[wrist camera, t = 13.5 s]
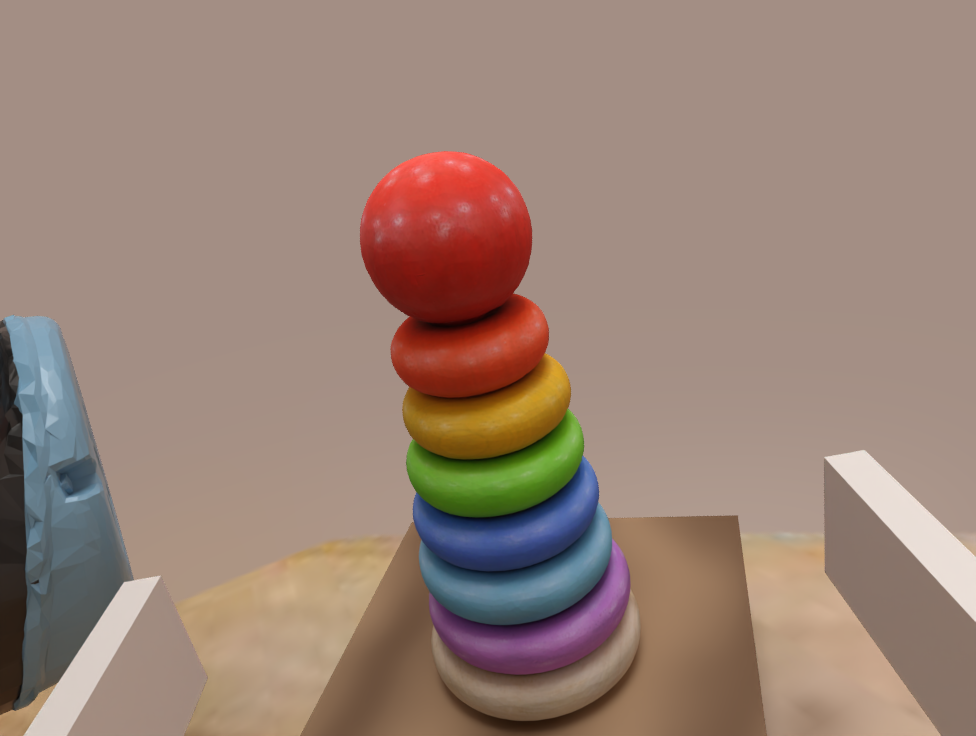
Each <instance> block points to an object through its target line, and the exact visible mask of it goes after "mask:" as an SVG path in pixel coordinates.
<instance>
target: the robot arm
mask: <svg viewBox="0 0 976 736" xmlns="http://www.w3.org/2000/svg"><path fill="white" fill-rule="evenodd" d="M824 498H825V499H824V511H825V514H824V517H825V573H826V574H827V576H828V577H829V579H830V580H831V581H832V583H833V584H834V586H835V587H836V588H837V590H838V591H839V593H840V594H841V595H842V597H843V598H844V600H845V601H846V602H847V604H848V605H849V607H850V608H851V609H852V611H853V612H854V614H855V615H856V616H857V618H858V619H859V621H860V622H861V624H862V625H863V626H864V628H865V629H866V631H867V632H868V633H869V635H870V636H871V638H872V639H873V640H874V642H875V643H876V645H877V646H878V647H879V649H880V650H881V652H882V653H883V654H884V656H885V657H886V659H887V660H888V661H889V663H890V664H891V666H892V667H893V668H894V670H895V671H896V673H897V674H898V675H899V677H900V678H901V680H902V681H903V682H904V684H905V685H906V687H907V688H908V689H909V691H910V692H911V694H912V695H913V696H914V698H915V699H916V701H917V702H918V703H919V705H920V706H921V708H922V709H923V710H924V712H925V713H926V715H927V716H928V717H929V719H930V720H931V722H932V723H933V724H934V726H935V727H936V729H937V730H938V731H939V733H940V734H941V736H976V557H975V556H974V555H973V554H972V553H971V552H970V551H969V550H968V549H967V548H966V547H965V546H964V545H963V544H962V543H961V542H960V541H959V540H958V539H957V538H955V537H954V536H953V535H952V534H951V533H950V532H949V531H948V530H947V529H946V528H945V527H944V526H943V525H942V524H941V523H940V522H939V521H938V520H937V519H936V518H935V517H934V516H933V515H932V514H930V513H929V512H928V511H927V510H926V509H925V508H924V507H923V506H922V505H921V504H920V503H919V502H918V501H917V500H916V499H915V498H914V497H913V496H912V495H911V494H910V493H908V491H907V490H905V489H904V488H903V487H902V486H901V485H900V484H899V483H898V482H897V481H896V480H895V479H894V478H893V477H892V476H891V475H890V474H889V473H888V472H886V470H885V469H884V468H883V467H882V466H880V465H879V464H878V463H877V462H876V461H875V460H874V459H873V458H872V457H871V456H870V455H869V454H868V453H867V452H866V451H864V450H862V451H857V452H851V453H845V454H840V455H834V456H829V457H824ZM207 679H208V677H207V675H206V673H205V671H204V669H203V666H202V664H201V662H200V660H199V658H198V655H197V653H196V651H195V649H194V647H193V644H192V642H191V640H190V638H189V636H188V633H187V631H186V629H185V627H184V625H183V623H182V620H181V618H180V616H179V614H178V612H177V609H176V607H175V605H174V603H173V601H172V599H171V596H170V594H169V592H168V590H167V587H166V585H165V583H164V581H163V579H162V577H161V576H156V577H150V578H144V579H139V580H134V579H133V575H132V572H131V567H130V563H129V560H128V556H127V552H126V548H125V545H124V541H123V538H122V534H121V530H120V526H119V523H118V519H117V516H116V512H115V508H114V505H113V501H112V498H111V494H110V491H109V487H108V484H107V480H106V477H105V473H104V470H103V466H102V463H101V459H100V455H99V452H98V449H97V446H96V442H95V439H94V435H93V432H92V429H91V425H90V422H89V418H88V415H87V411H86V408H85V404H84V401H83V397H82V394H81V391H80V387H79V384H78V381H77V377H76V374H75V371H74V368H73V364H72V361H71V358H70V354H69V352H68V349H67V346H66V343H65V341H64V339H63V335H62V332H61V328H60V327H59V325H58V324H57V323H56V322H55V321H54V320H52V319H50V318H48V317H41V316H33V317H25V318H23V317H21V316H14V315H12V316H9V317H6V318H4V320H2V321H0V715H1V714H3V713H6V712H8V711H10V710H14V711H16V710H19V709H21V708H24V707H26V706H28V705H29V704H31V703H32V702H33V701H34V700H35V698H36V697H37V695H38V694H39V693H40V692H42V691H43V690H45V689H47V688H49V687H51V686H53V685H55V684H57V683H58V684H57V685H56V687H55V688H54V690H53V691H52V693H51V695H50V696H49V698H48V699H47V701H46V702H45V704H44V705H43V707H42V708H41V710H40V711H39V713H38V714H37V716H36V717H35V719H34V721H33V722H32V724H31V725H30V727H29V728H28V730H27V731H26V733H25V734H24V736H184V734H185V732H186V729H187V727H188V725H189V722H190V720H191V717H192V715H193V712H194V710H195V708H196V705H197V703H198V700H199V698H200V696H201V693H202V691H203V688H204V686H205V684H206V681H207Z"/></svg>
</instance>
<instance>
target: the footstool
mask: <svg viewBox="0 0 976 736" xmlns="http://www.w3.org/2000/svg"><path fill="white" fill-rule="evenodd" d="M608 520H609V523H610V527H611V531H612V539H613V540H614V541H615V542H616V543H617V545H618V546H619V547H620V549H621V550H622V552H623V554H624V556H625V559H626V561H627V564H628V568H629V572H630V584H631V585H630V589H631V590H632V592H633V594H634V597H635V599H636V601H637V605H638V608H639V614H640V624H641V629H640V639H639V645H638V649H637V651H636V654H635V657H634V659H633V661H632V663H631V665H630V667H629V668H628V670H627V671H626V673H625V674H624V675H623V677H622V678H621V679H620V680H619V681H618V682H617V683H616V684H615V685H614V686H613V687H612V688H611V689H610V690H609V691H608V692H606V693H605V694H604V695H602V696H601V697H599V698H598V699H597V700H595V701H593V702H592V703H590V704H588V705H586V706H585V707H583V708H581V709H578V710H576V711H574V712H571V713H568V714H565V715H562V716H558V717H555V718H550V719H544V720H537V721H515V720H508V719H502V718H497V717H493V716H490V715H487V714H484V713H482V712H480V711H477V710H475V709H474V708H472V707H470V706H469V705H467V704H465V703H464V702H462V701H461V700H460V699H459V698H458V697H456V696H455V694H454V693H453V692H452V691H451V690H450V689H449V688H448V687H447V686H446V684H445V683H444V681H443V680H442V678H441V676H440V674H439V672H438V670H437V668H436V665H435V662H434V659H433V653H432V642H431V639H432V630H433V622H432V619H431V615H430V609H429V590H428V588H427V586H426V585H425V582H424V580H423V577H422V574H421V570H420V565H419V548H420V543H421V538H420V536H419V534H418V532H417V530H416V527H415V523H414V522H412V523H411V525H410V527H409V529H408V531H407V533H406V535H405V537H404V538H403V540H402V542H401V544H400V546H399V548H398V550H397V552H396V554H395V556H394V558H393V559H392V561H391V563H390V565H389V567H388V569H387V571H386V573H385V575H384V577H383V579H382V580H381V582H380V584H379V586H378V588H377V590H376V592H375V594H374V596H373V598H372V600H371V602H370V603H369V605H368V607H367V609H366V611H365V613H364V615H363V617H362V619H361V621H360V623H359V624H358V626H357V628H356V630H355V632H354V634H353V636H352V638H351V640H350V642H349V644H348V645H347V647H346V649H345V651H344V653H343V655H342V657H341V659H340V661H339V663H338V665H337V666H336V668H335V670H334V672H333V674H332V676H331V678H330V680H329V682H328V684H327V686H326V688H325V689H324V691H323V693H322V695H321V697H320V699H319V701H318V703H317V705H316V707H315V709H314V710H313V712H312V714H311V716H310V718H309V720H308V722H307V724H306V726H305V728H304V730H303V731H302V733H301V735H300V736H767V734H766V726H765V719H764V711H763V704H762V696H761V689H760V681H759V674H758V666H757V658H756V651H755V643H754V636H753V628H752V621H751V613H750V606H749V598H748V590H747V583H746V575H745V568H744V560H743V553H742V545H741V538H740V530H739V523H738V516H696V517H695V516H692V517H644V518H608Z"/></svg>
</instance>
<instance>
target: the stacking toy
mask: <svg viewBox="0 0 976 736" xmlns="http://www.w3.org/2000/svg"><path fill="white" fill-rule="evenodd" d="M360 245H361V253H362V257H363V260H364V263H365V267H366V269H367V271H368V273H369V275H370V277H371V279H372V281H373V283H374V284H375V286H376V288H377V289H378V290H379V292H380V293H381V294H382V295H383V296H384V297H385V298H386V299H387V301H388V302H389V303H390V304H392V305H393V306H394V307H395V308H397V309H398V310H400V311H401V312H403V313H404V314H406V315H408V316H410V317H409V318H408V319H406V320H405V321H404V322H403V323H402V325H401V326H400V327H399V328H398V330H397V332H396V333H395V335H394V338H393V340H392V344H391V359H392V363H393V366H394V368H395V370H396V372H397V374H398V375H399V377H400V378H401V379H402V380H403V381H404V382H405V383H406V384H407V385H408V386H409V389H408V390H407V393H406V395H405V398H404V401H403V409H402V411H403V419H404V423H405V426H406V428H407V430H408V432H409V434H410V436H411V437H412V438H413V440H412V442H411V443H410V446H409V449H408V452H407V461H406V465H407V472H408V475H409V479H410V481H411V483H412V485H413V487H414V489H415V490H416V495H415V498H414V503H413V519H414V523H415V527H416V530H417V532H418V534H419V536H420V538H421V543H420V548H419V565H420V570H421V574H422V577H423V580H424V582H425V585H426V586H427V588H428V590H429V609H430V615H431V619H432V622H433V630H432V639H431V642H432V653H433V659H434V662H435V665H436V668H437V670H438V672H439V674H440V676H441V678H442V680H443V681H444V683H445V684H446V686H447V687H448V688H449V689H450V690H451V691H452V692H453V693H454V694H455V696H456V697H458V698H459V699H460V700H461V701H462V702H464V703H465V704H467V705H469V706H470V707H472V708H474V709H475V710H477V711H480V712H482V713H484V714H487V715H490V716H493V717H497V718H502V719H508V720H515V721H537V720H544V719H550V718H555V717H558V716H562V715H565V714H568V713H571V712H574V711H576V710H578V709H581V708H583V707H585V706H586V705H588V704H590V703H592V702H593V701H595V700H597V699H598V698H599V697H601V696H602V695H604V694H605V693H606V692H608V691H609V690H610V689H611V688H612V687H613V686H614V685H615V684H616V683H617V682H618V681H619V680H620V679H621V678H622V677H623V675H624V674H625V673H626V671H627V670H628V668H629V667H630V665H631V663H632V661H633V659H634V657H635V654H636V651H637V649H638V645H639V639H640V629H641V624H640V614H639V608H638V605H637V601H636V599H635V597H634V594H633V592H632V590H631V589H630V585H631V584H630V572H629V568H628V564H627V561H626V559H625V556H624V554H623V552H622V550H621V549H620V547H619V546H618V545H617V543H616V542H615V541H614V540H613V539H612V531H611V527H610V523H609V520H608V517H607V515H606V513H605V511H604V509H603V508H602V506H601V505H600V504H599V502H598V499H599V487H598V482H597V477H596V475H595V472H594V470H593V468H592V466H591V465H590V464H589V462H588V461H587V460H586V458H585V457H584V456H583V452H584V438H583V433H582V429H581V427H580V424H579V422H578V420H577V418H576V417H575V416H574V415H573V413H572V412H571V411H570V410H569V409H568V407H569V403H570V397H571V387H570V382H569V379H568V376H567V374H566V372H565V370H564V368H563V367H562V366H561V365H560V364H559V363H558V362H557V361H556V360H555V359H554V358H552V357H551V356H549V355H547V354H545V351H546V348H547V346H548V341H549V328H548V325H547V321H546V319H545V316H544V314H543V312H542V311H541V310H540V308H539V307H538V306H537V305H536V304H534V303H533V302H532V301H530V300H529V299H527V298H525V297H523V296H520V295H517V294H513V293H514V291H515V290H516V288H517V287H518V286H519V284H520V282H521V280H522V278H523V277H524V275H525V272H526V269H527V267H528V265H529V259H530V255H531V248H532V227H531V220H530V217H529V213H528V210H527V207H526V205H525V202H524V200H523V198H522V196H521V194H520V192H519V190H518V189H517V187H516V186H515V185H514V184H513V182H512V181H511V180H510V179H509V178H508V177H507V176H506V175H505V174H504V173H503V172H502V171H501V170H500V169H498V168H496V167H495V166H494V165H492V164H490V163H489V162H487V161H485V160H483V159H481V158H479V157H477V156H473V155H470V154H467V153H462V152H448V151H444V152H435V153H429V154H424V155H421V156H417V157H415V158H413V159H410V160H408V161H406V162H404V163H402V164H400V165H399V166H397V167H396V168H394V169H393V170H391V171H390V172H389V173H388V174H387V175H386V176H385V177H384V178H383V179H382V180H381V181H380V182H379V183H378V185H377V186H376V188H375V189H374V190H373V192H372V194H371V195H370V197H369V199H368V201H367V203H366V206H365V209H364V212H363V215H362V219H361V226H360Z"/></svg>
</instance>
